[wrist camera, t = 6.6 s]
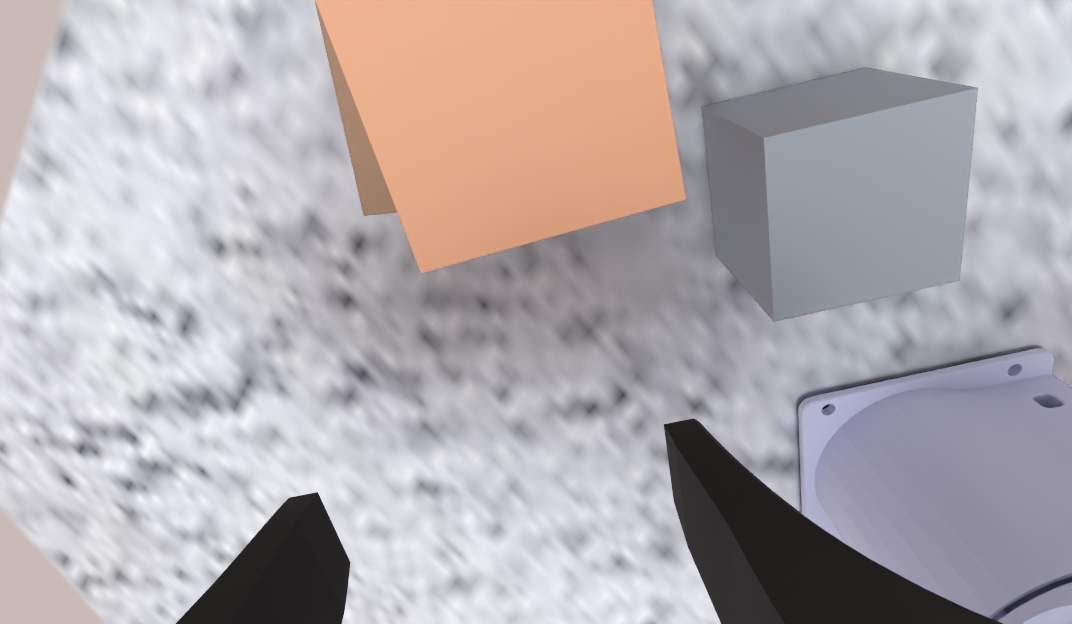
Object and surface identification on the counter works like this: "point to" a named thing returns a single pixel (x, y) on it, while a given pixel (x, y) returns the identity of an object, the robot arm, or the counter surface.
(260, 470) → the counter surface
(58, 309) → the counter surface
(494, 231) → the terracotta block
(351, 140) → the walnut block
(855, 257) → the slate block
